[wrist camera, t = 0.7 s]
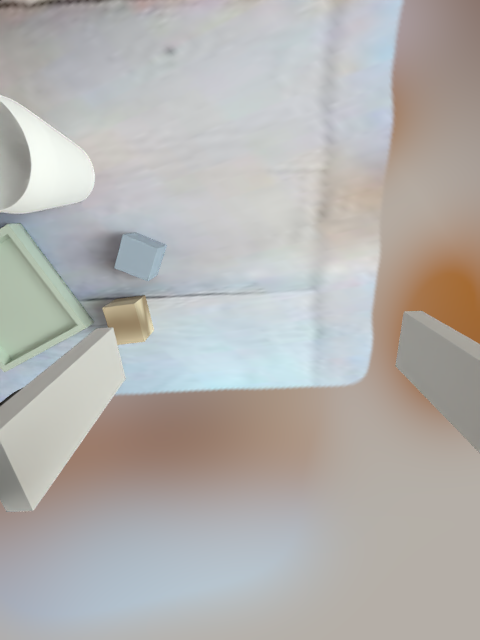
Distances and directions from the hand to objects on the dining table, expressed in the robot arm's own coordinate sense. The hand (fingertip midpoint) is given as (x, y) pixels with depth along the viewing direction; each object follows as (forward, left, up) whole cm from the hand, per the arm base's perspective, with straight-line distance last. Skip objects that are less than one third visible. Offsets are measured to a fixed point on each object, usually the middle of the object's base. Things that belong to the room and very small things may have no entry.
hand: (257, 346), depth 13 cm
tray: (-10, -30, -24) cm, 40 cm away
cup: (-19, -14, -25) cm, 34 cm away
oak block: (-1, -17, -25) cm, 30 cm away
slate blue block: (-7, -11, -25) cm, 28 cm away
